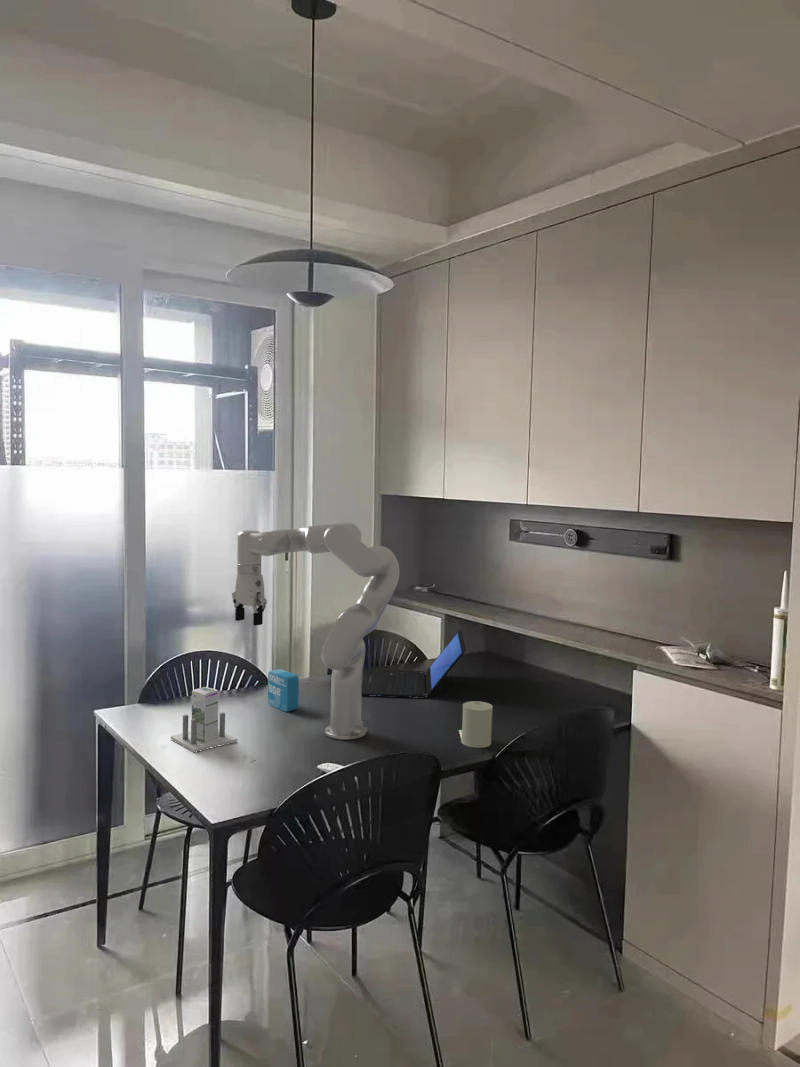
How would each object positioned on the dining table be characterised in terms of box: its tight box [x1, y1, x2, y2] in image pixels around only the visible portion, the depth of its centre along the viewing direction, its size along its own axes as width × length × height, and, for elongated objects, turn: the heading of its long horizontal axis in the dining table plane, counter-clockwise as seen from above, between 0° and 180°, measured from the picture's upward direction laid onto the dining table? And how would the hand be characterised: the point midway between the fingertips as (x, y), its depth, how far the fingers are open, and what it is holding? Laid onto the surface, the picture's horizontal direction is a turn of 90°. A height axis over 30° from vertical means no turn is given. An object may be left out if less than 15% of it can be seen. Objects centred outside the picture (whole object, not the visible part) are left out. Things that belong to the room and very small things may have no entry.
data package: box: [267, 668, 300, 713], centre depth 267 cm, size 12×4×12 cm, turn 43°
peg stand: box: [170, 712, 238, 753], centre depth 233 cm, size 14×14×8 cm
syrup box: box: [191, 686, 219, 741], centre depth 233 cm, size 6×6×14 cm
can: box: [460, 700, 494, 749], centre depth 239 cm, size 9×9×12 cm
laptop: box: [362, 629, 466, 698], centre depth 298 cm, size 33×38×19 cm
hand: (248, 622), depth 252 cm, fingers open, 9 cm apart
